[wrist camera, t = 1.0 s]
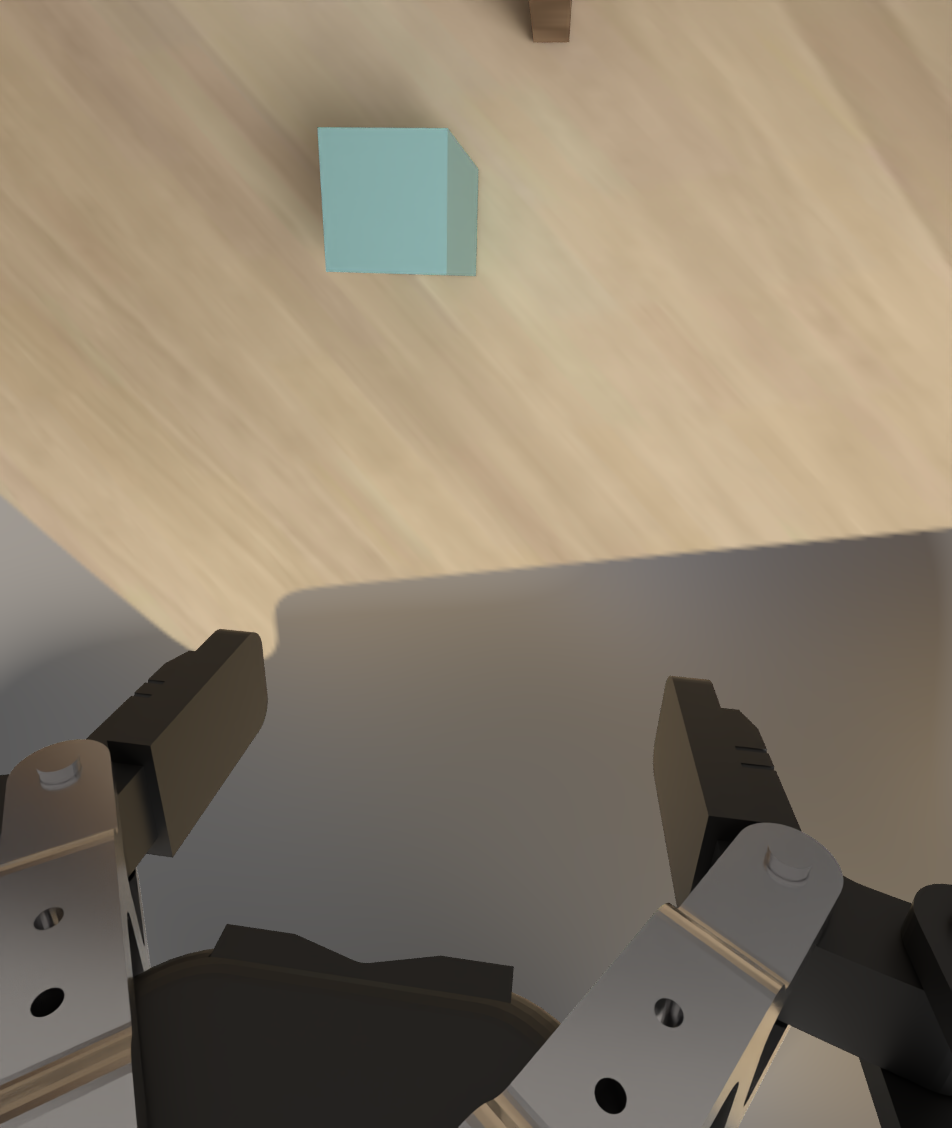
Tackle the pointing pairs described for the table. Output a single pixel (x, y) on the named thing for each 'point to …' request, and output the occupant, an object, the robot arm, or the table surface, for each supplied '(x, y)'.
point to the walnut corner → (550, 20)
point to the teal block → (397, 201)
